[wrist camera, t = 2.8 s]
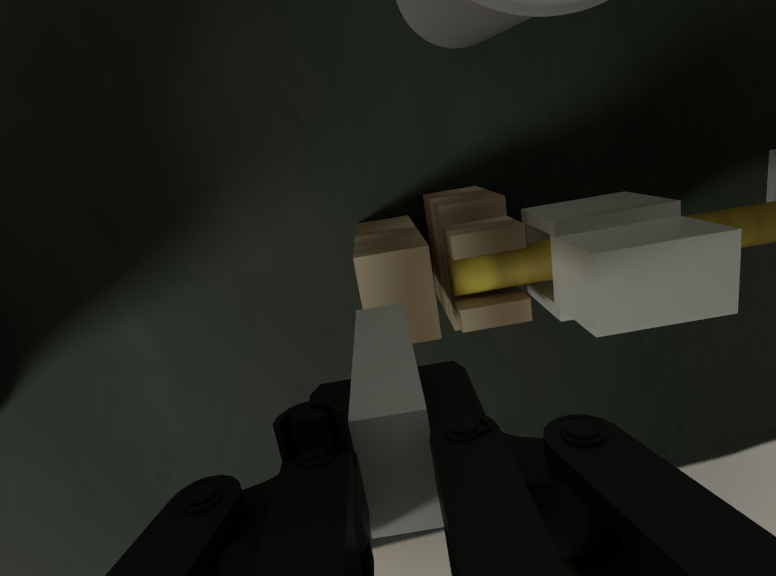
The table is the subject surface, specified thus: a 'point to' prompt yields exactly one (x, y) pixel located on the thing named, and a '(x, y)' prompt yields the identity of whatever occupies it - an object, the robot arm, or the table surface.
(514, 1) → the coffee cup
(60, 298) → the table surface
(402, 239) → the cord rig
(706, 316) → the grey stepped block
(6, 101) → the table surface
